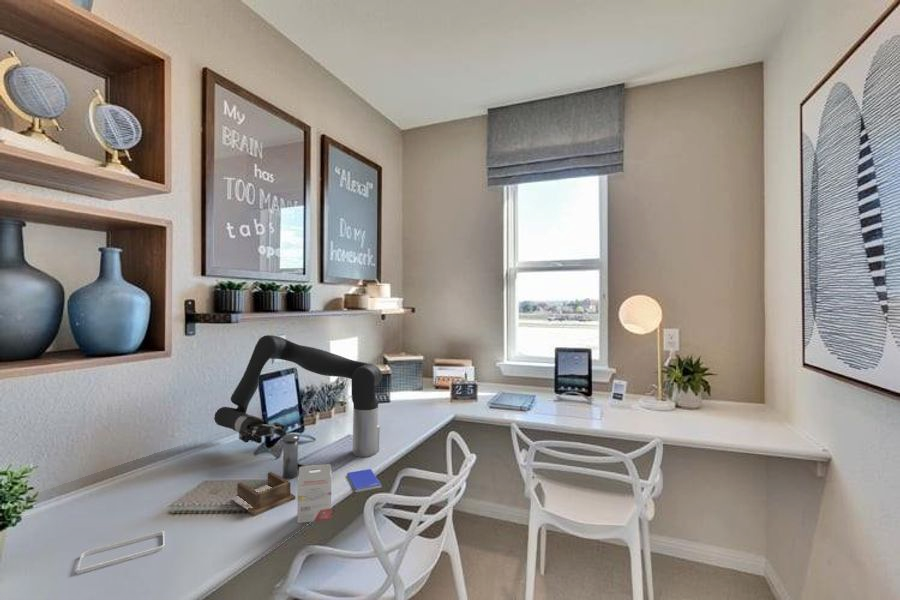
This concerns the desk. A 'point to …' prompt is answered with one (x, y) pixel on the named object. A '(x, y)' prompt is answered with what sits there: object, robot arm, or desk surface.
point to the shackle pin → (290, 455)
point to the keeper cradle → (266, 494)
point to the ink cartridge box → (314, 493)
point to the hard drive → (363, 480)
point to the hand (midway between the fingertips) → (272, 437)
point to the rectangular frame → (121, 557)
